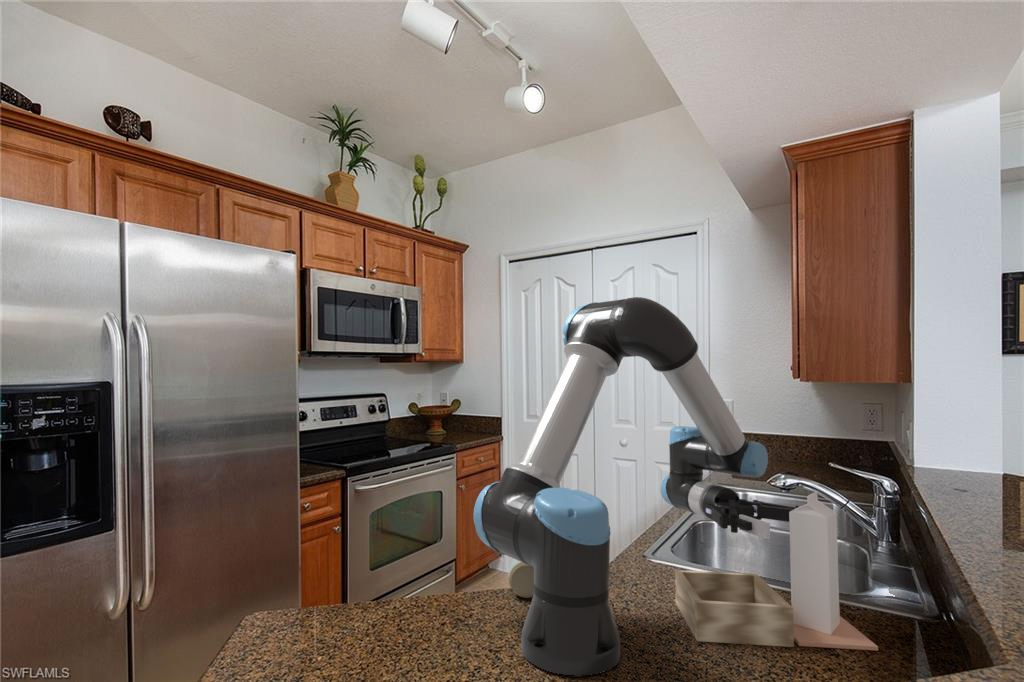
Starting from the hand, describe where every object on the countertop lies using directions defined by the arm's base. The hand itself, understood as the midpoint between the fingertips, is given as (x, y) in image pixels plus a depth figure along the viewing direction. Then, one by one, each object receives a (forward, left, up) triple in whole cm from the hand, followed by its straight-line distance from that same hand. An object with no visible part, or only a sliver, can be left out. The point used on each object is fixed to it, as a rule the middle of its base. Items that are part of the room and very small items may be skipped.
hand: (797, 528), depth 94 cm
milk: (+1, -3, -15) cm, 16 cm away
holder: (-13, -3, -16) cm, 21 cm away
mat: (+1, -3, -16) cm, 16 cm away
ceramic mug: (-48, +6, -16) cm, 51 cm away
